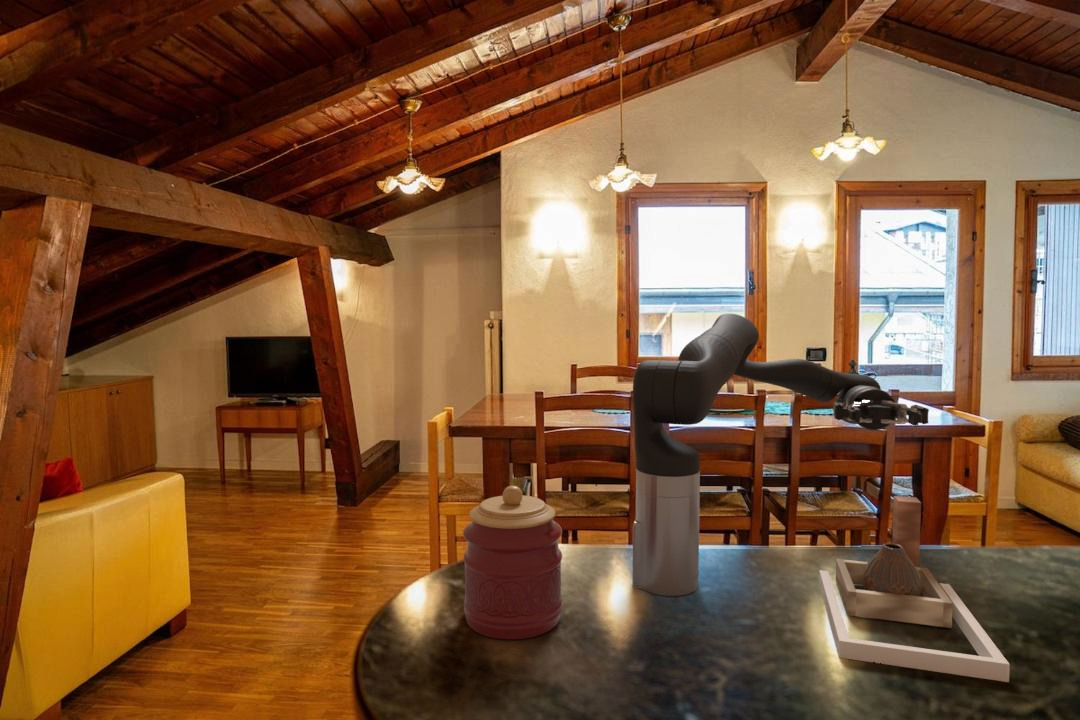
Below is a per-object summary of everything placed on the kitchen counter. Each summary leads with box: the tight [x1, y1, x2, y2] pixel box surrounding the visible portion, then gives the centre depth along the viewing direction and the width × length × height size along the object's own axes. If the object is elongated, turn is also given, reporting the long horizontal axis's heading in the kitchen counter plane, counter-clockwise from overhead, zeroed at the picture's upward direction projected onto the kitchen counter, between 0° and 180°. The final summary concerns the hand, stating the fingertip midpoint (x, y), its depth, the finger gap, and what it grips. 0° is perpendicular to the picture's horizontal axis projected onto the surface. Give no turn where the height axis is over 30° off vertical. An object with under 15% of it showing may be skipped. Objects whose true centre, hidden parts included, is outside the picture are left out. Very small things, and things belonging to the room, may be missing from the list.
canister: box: [462, 485, 563, 640], centre depth 84 cm, size 13×13×18 cm
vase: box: [862, 542, 922, 597], centre depth 87 cm, size 7×7×9 cm
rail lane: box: [818, 569, 1011, 683], centre depth 82 cm, size 17×22×2 cm
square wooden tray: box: [835, 495, 953, 629], centre depth 91 cm, size 12×18×12 cm
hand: (886, 417), depth 105 cm, fingers open, 8 cm apart
